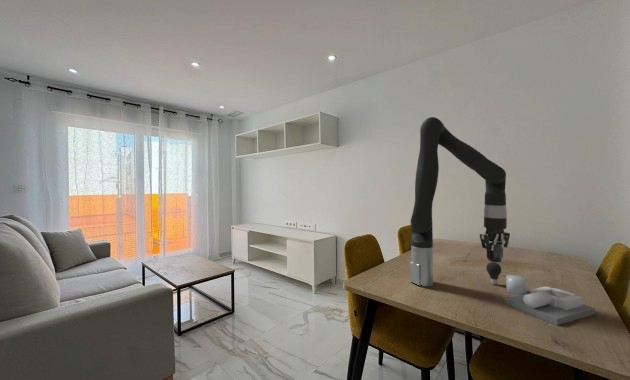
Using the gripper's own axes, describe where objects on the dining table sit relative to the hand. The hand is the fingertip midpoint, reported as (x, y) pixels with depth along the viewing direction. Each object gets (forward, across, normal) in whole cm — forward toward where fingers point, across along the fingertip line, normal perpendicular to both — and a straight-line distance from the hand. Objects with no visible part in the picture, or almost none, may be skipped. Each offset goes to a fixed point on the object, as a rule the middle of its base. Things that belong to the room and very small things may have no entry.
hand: (494, 258), depth 103 cm
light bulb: (+15, +11, +9) cm, 21 cm away
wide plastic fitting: (+15, +12, 0) cm, 20 cm away
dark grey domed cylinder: (+1, 0, 0) cm, 1 cm away
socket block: (+15, +7, -14) cm, 22 cm away
